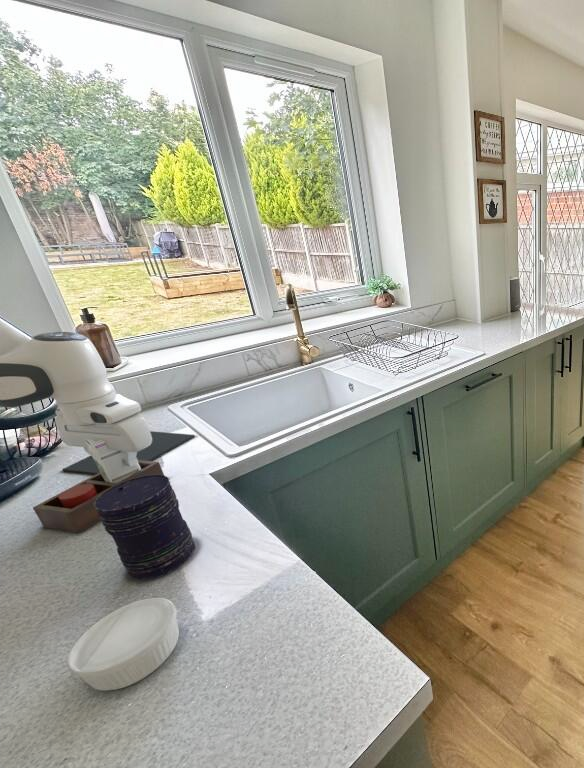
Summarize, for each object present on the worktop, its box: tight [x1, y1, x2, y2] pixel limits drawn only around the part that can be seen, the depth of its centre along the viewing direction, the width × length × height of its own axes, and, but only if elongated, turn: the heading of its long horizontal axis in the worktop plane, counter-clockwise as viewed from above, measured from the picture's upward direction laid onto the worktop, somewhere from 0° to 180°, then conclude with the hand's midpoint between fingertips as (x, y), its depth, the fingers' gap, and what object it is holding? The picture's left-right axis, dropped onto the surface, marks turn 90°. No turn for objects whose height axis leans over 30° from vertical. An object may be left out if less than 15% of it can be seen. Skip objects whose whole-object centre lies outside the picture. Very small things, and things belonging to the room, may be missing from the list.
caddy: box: [32, 460, 165, 534], centre depth 90 cm, size 10×18×5 cm, turn 169°
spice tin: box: [59, 484, 98, 509], centre depth 86 cm, size 5×5×6 cm
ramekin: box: [66, 597, 180, 692], centre depth 57 cm, size 11×11×5 cm
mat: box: [61, 430, 195, 476], centre depth 110 cm, size 18×20×1 cm
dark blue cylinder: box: [94, 475, 196, 581], centre depth 72 cm, size 10×10×15 cm
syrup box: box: [84, 439, 141, 483], centre depth 92 cm, size 6×6×14 cm
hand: (117, 463), depth 92 cm, fingers closed on syrup box, 7 cm apart
